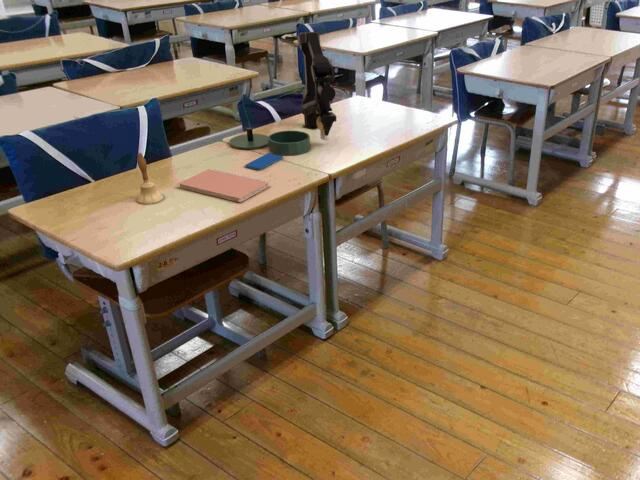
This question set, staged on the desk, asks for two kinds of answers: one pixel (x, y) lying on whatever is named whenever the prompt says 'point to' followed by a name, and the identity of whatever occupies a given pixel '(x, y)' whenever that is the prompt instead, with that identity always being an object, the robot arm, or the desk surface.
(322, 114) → the robot arm
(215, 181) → the notebook
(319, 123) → the light bulb
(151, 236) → the desk surface
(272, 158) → the smartphone
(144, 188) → the hand bell
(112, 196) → the desk surface
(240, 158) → the desk surface
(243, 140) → the tin lid
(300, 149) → the tin
